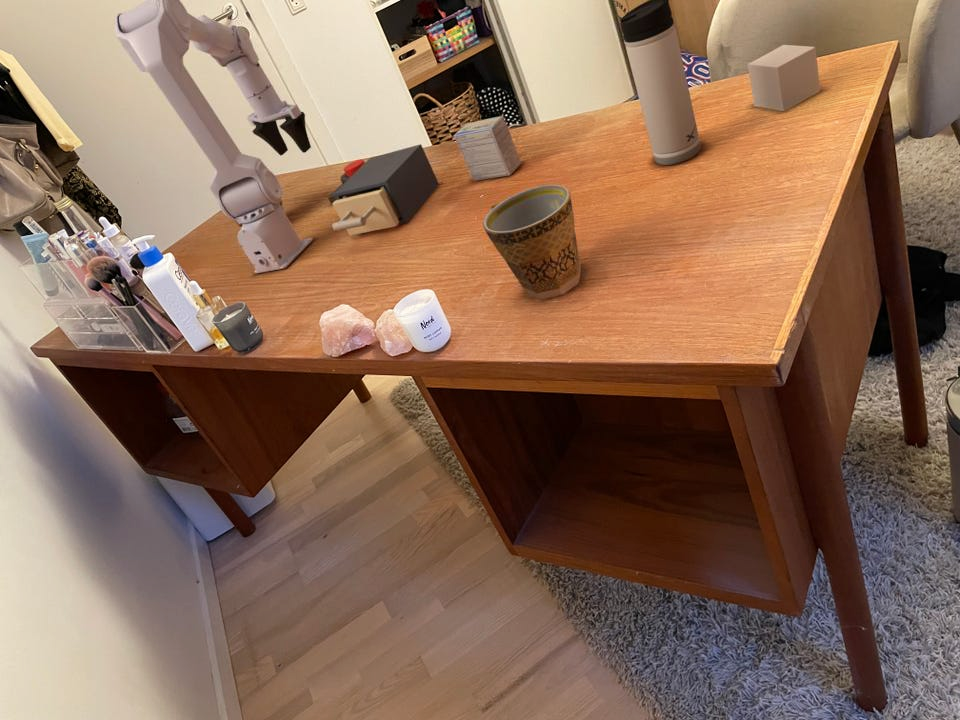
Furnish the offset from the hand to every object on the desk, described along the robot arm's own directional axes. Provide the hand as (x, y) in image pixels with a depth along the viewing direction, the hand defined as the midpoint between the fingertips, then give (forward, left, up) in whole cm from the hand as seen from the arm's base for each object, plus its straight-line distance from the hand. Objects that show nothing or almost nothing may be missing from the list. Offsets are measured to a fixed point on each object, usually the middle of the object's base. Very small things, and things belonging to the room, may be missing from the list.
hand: (295, 151), depth 143 cm
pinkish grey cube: (-8, -94, -10) cm, 95 cm away
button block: (-2, -14, -10) cm, 17 cm away
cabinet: (-17, -31, -10) cm, 37 cm away
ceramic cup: (-47, -70, -10) cm, 85 cm away
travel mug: (-19, -81, -10) cm, 84 cm away
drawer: (-22, -31, -9) cm, 39 cm away
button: (-2, -14, -7) cm, 16 cm away
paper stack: (-11, -49, -10) cm, 51 cm away
